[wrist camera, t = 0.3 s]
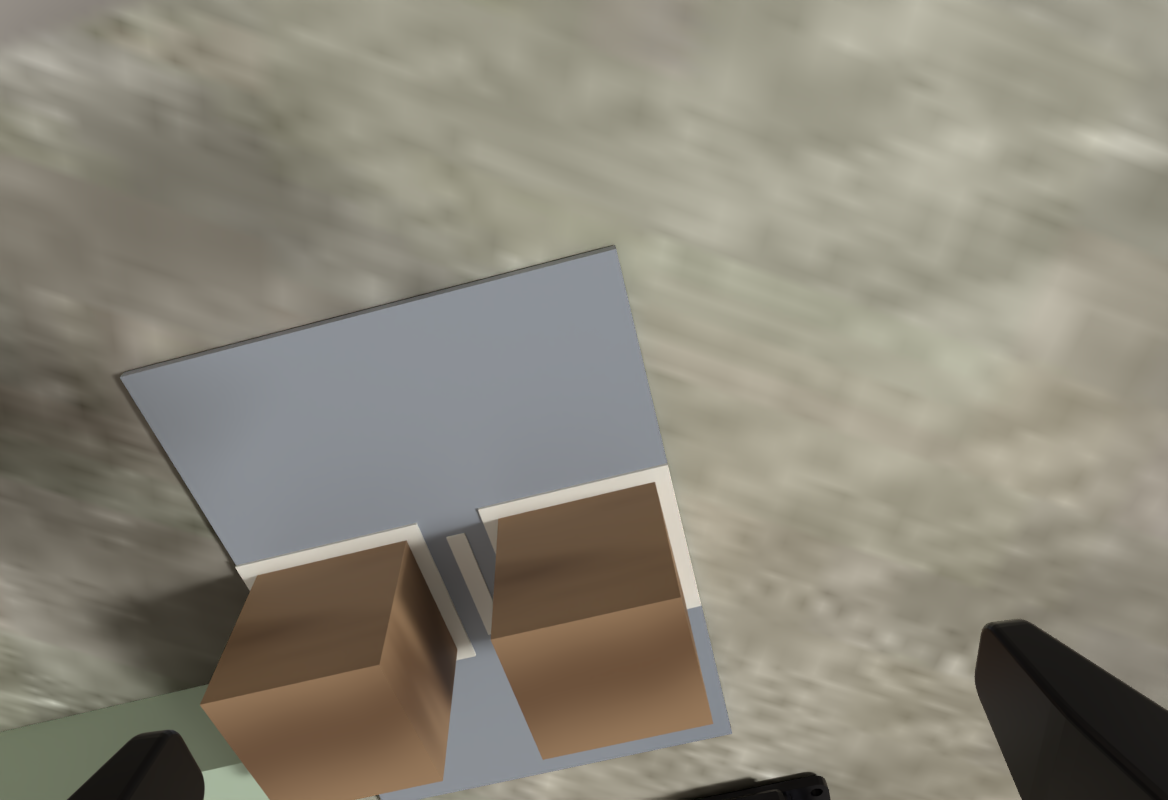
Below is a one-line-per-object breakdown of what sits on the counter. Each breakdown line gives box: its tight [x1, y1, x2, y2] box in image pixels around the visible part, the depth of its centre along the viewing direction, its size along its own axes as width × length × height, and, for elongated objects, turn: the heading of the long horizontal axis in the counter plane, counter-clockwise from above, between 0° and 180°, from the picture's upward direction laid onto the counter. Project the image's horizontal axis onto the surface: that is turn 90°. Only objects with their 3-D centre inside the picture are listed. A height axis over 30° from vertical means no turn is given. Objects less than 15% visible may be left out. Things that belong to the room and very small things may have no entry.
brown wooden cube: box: [491, 482, 713, 760], centre depth 24 cm, size 5×5×5 cm
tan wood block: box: [200, 540, 458, 800], centre depth 24 cm, size 5×5×5 cm
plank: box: [0, 684, 269, 800], centre depth 28 cm, size 4×14×4 cm, turn 104°
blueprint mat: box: [120, 245, 732, 800], centre depth 26 cm, size 20×14×1 cm
